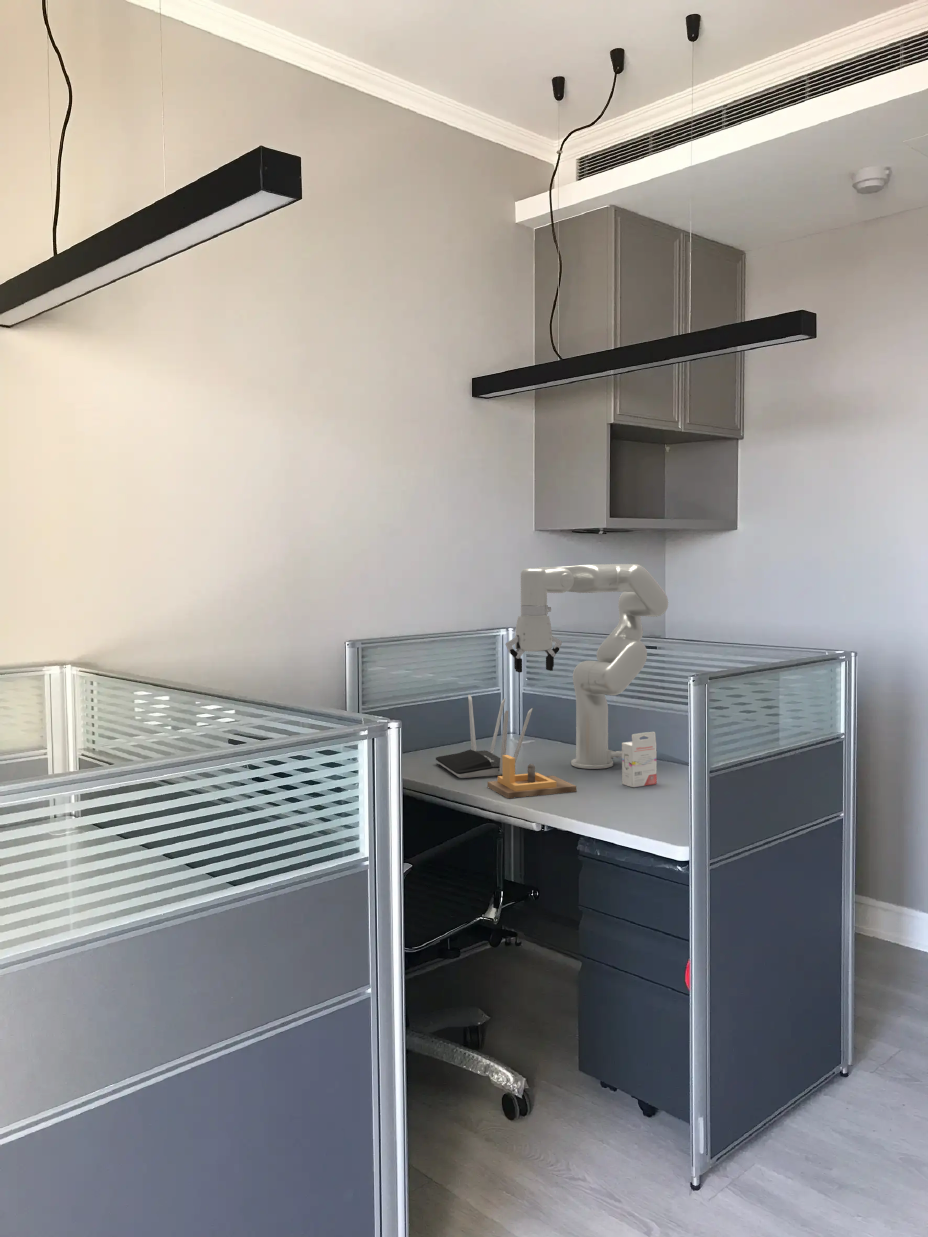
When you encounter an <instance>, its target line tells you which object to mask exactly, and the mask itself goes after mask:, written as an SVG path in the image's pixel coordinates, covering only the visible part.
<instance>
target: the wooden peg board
mask: <svg viewBox="0 0 928 1237" xmlns="http://www.w3.org/2000/svg"><path fill="white" fill-rule="evenodd" d="M535 773H536V765H535V764H534V763H529V764H528V765H527V774H528V780H525V781H515V783H517V784H523V783H533V782H539V781H537V780H535ZM544 776H545V777H548V778H550V779H552V780H554V781H556V787H554V788H544V789H534V790H524V791H514V790H512V789H510V788H508V787H506V786H505V785H503V784H501V783H499V782H498V780H493V781H487V788H488V787H489V788H488V789H490V790H491V791H494V792H495V791H496V792H495V793H497V794H499V795H500V796H502V795H503V797H504V798H506V799H508V798H510V799H515V798H514V797H520V798H525V797H526V796H529V797H537V796H538V795H539V796H546V795H548V796H549V795H558V794H566V793H567V794H568V793H575V792H577V785H575V784H574V783H571V782H568V781H566V780H564V779H562V778H559V777H557V776H555V775H544Z"/></svg>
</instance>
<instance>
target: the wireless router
mask: <svg viewBox="0 0 928 1237" xmlns="http://www.w3.org/2000/svg"><path fill="white" fill-rule="evenodd" d="M467 697H468V700H467V701H468V713H469V714H468V716H469V733H470V749H468V750H464V751H460V752H457V753H453V754H446V755H441V756H440V755H439V756H436V757H435V761H436V762H438V764H439V765H440V766H442V767H443V768H445V769H446V770H447V771H449V772H450V773H452V774H453V775H455V776H456V777H458V778H459V779H466V778H477V777H491V776H503V764H502V755H507V742H508V741H507V740H508V722H509V710H505V711H504V707H505V703H506V698H505V697H504V698H503V699H502V701H501V703H500V705H499V711H498V715H497V719H496V724H495V729H494V733H493V736H492V741H491V745H490V750H489V751H488V750H485V749H484V750H477V744H476V743H477V742H476V729H475V719H474V708H473V698H472V695H471V694H468V696H467ZM533 710H534V708H533V707H532V708H530V709H529V710H528V711H527V714H526V717H525V720H524V723H523V726H522V730H521V732H520V736H519V739H518V742H517V745H516V748H515V750H514V751H515V752H514V754H513V756H512V757H513V758H515V764H516V763H517V760H518V757H519V753H520V750H521V748H522V744H523V741H524V737H525V735H526V730H527V729H528V728H527V727H528V725H529V722H530V719H531V715H532V712H533ZM503 711H504V715H503ZM502 715H503V716H502ZM502 717H503V724H502V736H501V737H502V738H501V747H500V748H501V749H500V757H499V756H497V755H496V754H494V750H495V747H496V742H497V738H498V734H499V729H500V724H501V721H502Z"/></svg>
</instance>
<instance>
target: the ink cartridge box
mask: <svg viewBox="0 0 928 1237" xmlns="http://www.w3.org/2000/svg"><path fill="white" fill-rule="evenodd" d="M643 737H646V738H644V739H643ZM656 737H657V736H656V732H655V731H650V732H649V731H647V732H639V733H633V734H631V741H626V742H621V751H622V757H621V774H622V775H621V779H622V780H621V783H622V785H624V786H626V787H631V788H637V787H645V786H653V785H656V784H658V783H657V779H658V778H657V777H658V776H657V771H658V770H657V766H658V765H657V764H658V763H657V738H656ZM641 738H642V739H641Z"/></svg>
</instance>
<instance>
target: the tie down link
mask: <svg viewBox="0 0 928 1237" xmlns="http://www.w3.org/2000/svg"><path fill="white" fill-rule="evenodd" d="M513 757H514V756H511V755H509V754H506V755H502V764H503V775H497V781H498V782H499V783H501V784H503V785H505V786H506V787H508V788H510V789H512V790H514V791H524V790H534V789H544V788H554V787H556V781H554V780H552V779H550V778H548V777H545V776H546V775H543V774H541V773H539V772H535V780H537V781H539V782H533V783H523V784H517V783H515V781H525V780H528V773H521V774H520V773H519V774H516V763H515V758H513Z"/></svg>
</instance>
